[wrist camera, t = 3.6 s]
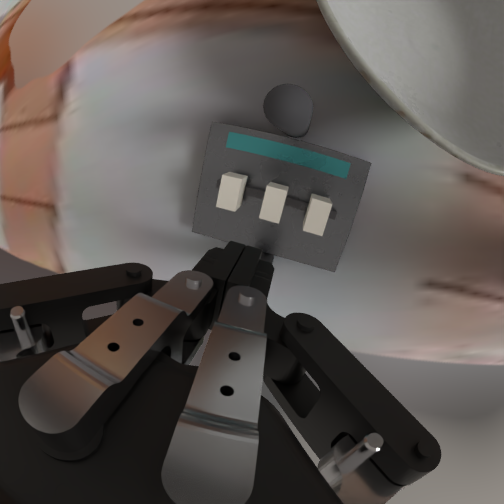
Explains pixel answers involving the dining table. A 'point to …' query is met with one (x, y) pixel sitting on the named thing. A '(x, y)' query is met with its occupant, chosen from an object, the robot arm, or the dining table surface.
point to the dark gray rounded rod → (289, 109)
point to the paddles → (273, 202)
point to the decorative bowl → (433, 67)
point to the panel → (298, 196)
